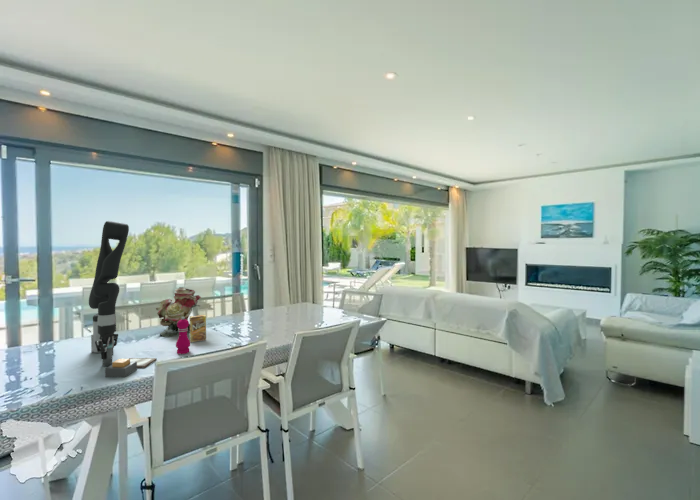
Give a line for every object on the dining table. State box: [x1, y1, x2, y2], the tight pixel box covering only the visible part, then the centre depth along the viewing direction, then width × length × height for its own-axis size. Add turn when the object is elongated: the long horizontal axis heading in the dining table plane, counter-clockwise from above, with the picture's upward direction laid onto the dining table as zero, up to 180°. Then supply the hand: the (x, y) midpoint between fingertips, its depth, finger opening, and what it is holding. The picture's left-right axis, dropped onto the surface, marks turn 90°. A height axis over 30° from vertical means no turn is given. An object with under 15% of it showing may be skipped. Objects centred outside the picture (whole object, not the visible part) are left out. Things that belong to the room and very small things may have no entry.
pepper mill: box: [175, 317, 191, 355], centre depth 194 cm, size 7×7×20 cm
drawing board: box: [128, 357, 157, 369], centre depth 176 cm, size 14×11×1 cm
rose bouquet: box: [155, 286, 202, 338], centre depth 235 cm, size 26×29×30 cm
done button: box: [112, 358, 130, 367], centre depth 164 cm, size 5×5×4 cm
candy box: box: [189, 314, 207, 343], centre depth 216 cm, size 9×4×15 cm, turn 125°
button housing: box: [104, 361, 138, 378], centre depth 164 cm, size 9×9×4 cm
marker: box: [101, 344, 113, 367], centre depth 173 cm, size 4×4×10 cm
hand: (107, 357), depth 173 cm, fingers closed on marker, 4 cm apart
